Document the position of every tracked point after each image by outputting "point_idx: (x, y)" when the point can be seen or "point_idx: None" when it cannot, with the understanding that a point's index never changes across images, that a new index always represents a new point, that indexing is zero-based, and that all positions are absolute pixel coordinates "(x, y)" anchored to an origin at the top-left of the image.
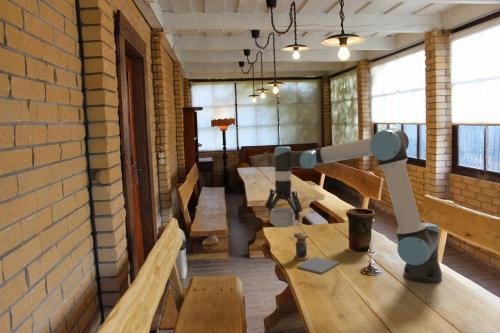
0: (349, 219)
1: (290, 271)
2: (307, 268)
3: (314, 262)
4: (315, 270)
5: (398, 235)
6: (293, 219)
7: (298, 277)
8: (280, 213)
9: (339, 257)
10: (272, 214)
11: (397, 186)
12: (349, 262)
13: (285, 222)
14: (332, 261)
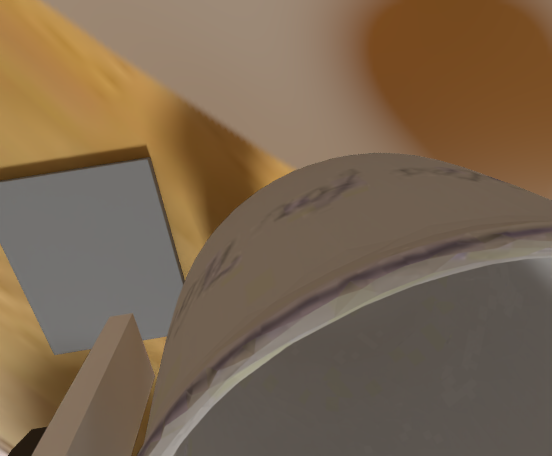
0: None
1: (129, 81)
2: (77, 173)
3: (132, 270)
4: (21, 182)
5: None
6: (79, 407)
7: (11, 35)
8: (248, 320)
9: None
10: (541, 204)
11: None
12: (47, 389)
13: (189, 273)
14: (85, 340)
